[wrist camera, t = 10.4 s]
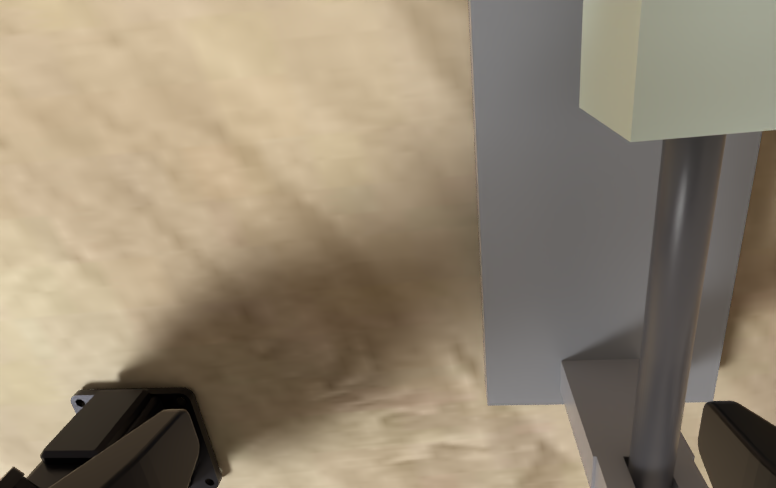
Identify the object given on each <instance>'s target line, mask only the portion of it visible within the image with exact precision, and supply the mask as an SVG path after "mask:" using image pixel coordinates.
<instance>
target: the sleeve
mask: <svg viewBox="0 0 776 488" xmlns="http://www.w3.org/2000/svg"><path fill="white" fill-rule="evenodd" d="M579 108H581V109H582V110H584V111H585V112H587V113H588V114H590V115H591V116H593V117H594V118H595V119H597V120H598V121H600V122H601V123H603V124H604V125H606V126H607V127H609V128H610V129H612V130H613V131H615V132H616V133H618V134H619V135H620V136H622V137H623V138H625V139H626V140H628V141H629V142H639V141H651V140H663V139H675V138H687V137H699V136H711V135H722V134H734V133H746V132H758V131H770V130H776V0H583V18H582V44H581V71H580V97H579Z"/></svg>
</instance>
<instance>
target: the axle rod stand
mask: <svg viewBox="0 0 776 488" xmlns="http://www.w3.org/2000/svg"><path fill="white" fill-rule="evenodd" d="M468 6H469V28H470V51H471V73H472V95H473V118H474V140H475V163H476V185H477V208H478V230H479V253H480V275H481V298H482V320H483V343H484V365H485V385H486V394H487V403H488V405H548V404H565V408H566V411H567V414H568V417H569V421H570V424H571V427H572V430H573V434H574V437H575V440H576V443H577V447H578V450H579V453H580V457H581V460H582V463H583V466H584V470H585V473H586V476H587V479H588V483H589V486H590V488H709V487H708V486H707V484H706V482H705V480H704V478H703V477H702V475H701V473H700V471H699V470H698V468H697V466H696V464H695V462H694V457H695V456H694V454H693V453H692V451H691V449H690V447H689V446H688V444H687V442H686V440H685V438H684V437H683V435H682V433H681V431H680V430H681V424H682V417H683V411H684V404H685V402H710V401H713V398H714V392H715V387H716V381H717V376H718V370H719V365H720V359H721V354H722V349H723V343H724V338H725V332H726V327H727V321H728V316H729V310H730V305H731V300H732V294H733V289H734V283H735V278H736V272H737V267H738V261H739V256H740V250H741V245H742V240H743V234H744V229H745V223H746V218H747V212H748V207H749V201H750V196H751V191H752V185H753V180H754V174H755V169H756V163H757V158H758V152H759V147H760V142H761V136H762V131H758V132H746V133H734V134H722V135H711V136H699V137H687V138H675V139H663V140H651V141H639V142H629V141H628V140H626V139H625V138H623V137H622V136H620V135H619V134H618V133H616V132H615V131H613V130H612V129H610V128H609V127H607V126H606V125H604V124H603V123H601V122H600V121H598V120H597V119H595V118H594V117H593V116H591V115H590V114H588V113H587V112H585V111H584V110H582V109H581V108H579V97H580V71H581V44H582V18H583V0H468Z"/></svg>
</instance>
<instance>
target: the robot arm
mask: <svg viewBox="0 0 776 488" xmlns="http://www.w3.org/2000/svg"><path fill="white" fill-rule="evenodd" d="M181 397H182V398H181ZM183 398H184V399H183ZM71 404H72V406H73V408H74V410H75V412H76V415H75V416H74V417H73V418H72V420H71V421H70V422H69V423H68V424H67V425H66V426H65V427H64V428H63V429H62V430H61V431H60V432H59V434H58V435H57V436H56V437H55V438H54V439H53V440H52V441H51V442H50V443H49V444H48V445H47V446H46V448H45V449H44V450H43V452H42V453H41V455H40V456H41V459H42V461H41V462H40V464H39V465H38V466H37V467H36V468H35V469H34V470H33V471H32V472H31V473H30V475H29V476H28V477H27V478H25V477H23V476H24V473H23V472H21V471H20V470H18V469H17V468H15V467H12V468H11V469H10V470H9V471H8V472H7V473H6V474H5V475H4V476H3V477H2V478H1V479H0V488H217V487H218V485H219V483H220V481H221V479H222V476H221V473H220V470H219V467H218V464H217V461H216V458H215V455H214V452H213V449H212V446H211V443H210V440H209V437H208V434H207V431H206V428H205V425H204V422H203V419H202V416H201V413H200V410H199V407H198V404H197V401H196V398H195V396H194V394H193V392H192V391H190V390H189V389H187V388H147V389H102V390H79V391H78V392H77V393H76V394H75V395H74V396H73V397H72V398H71ZM698 448H699V452H700V455H701V458H702V461H703V463H704V466H705V468H706V471H707V474H708V476H709V479H710V481H711V484H712V486H713V488H776V426H774V425H773V424H771V423H770V422H768V421H766V420H765V419H763V418H762V417H760V416H758V415H757V414H755V413H754V412H752V411H750V410H749V409H747V408H745V407H744V406H742V405H741V404H739V403H737V402H734V401H710V402H707V403H706V404H705V406H704V408H703V413H702V419H701V425H700V430H699V436H698Z"/></svg>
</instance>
